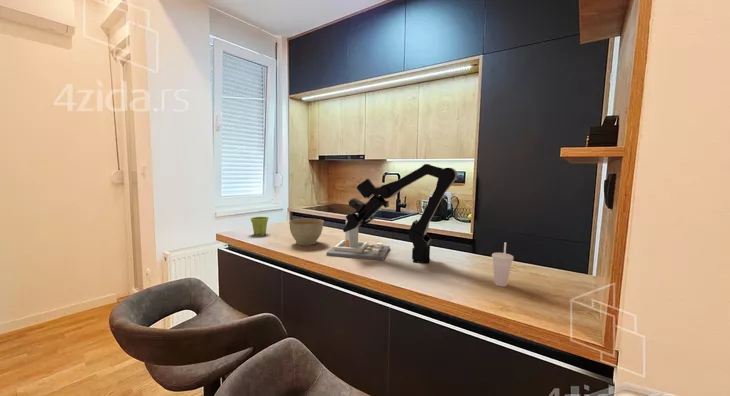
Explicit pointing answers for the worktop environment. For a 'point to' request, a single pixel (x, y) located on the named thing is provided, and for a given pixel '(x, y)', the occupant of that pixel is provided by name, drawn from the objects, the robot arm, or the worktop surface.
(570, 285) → the worktop surface
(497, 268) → the smoothie
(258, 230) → the plant pot
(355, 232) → the skincare box
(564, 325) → the worktop surface
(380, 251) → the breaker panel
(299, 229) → the planter bowl
